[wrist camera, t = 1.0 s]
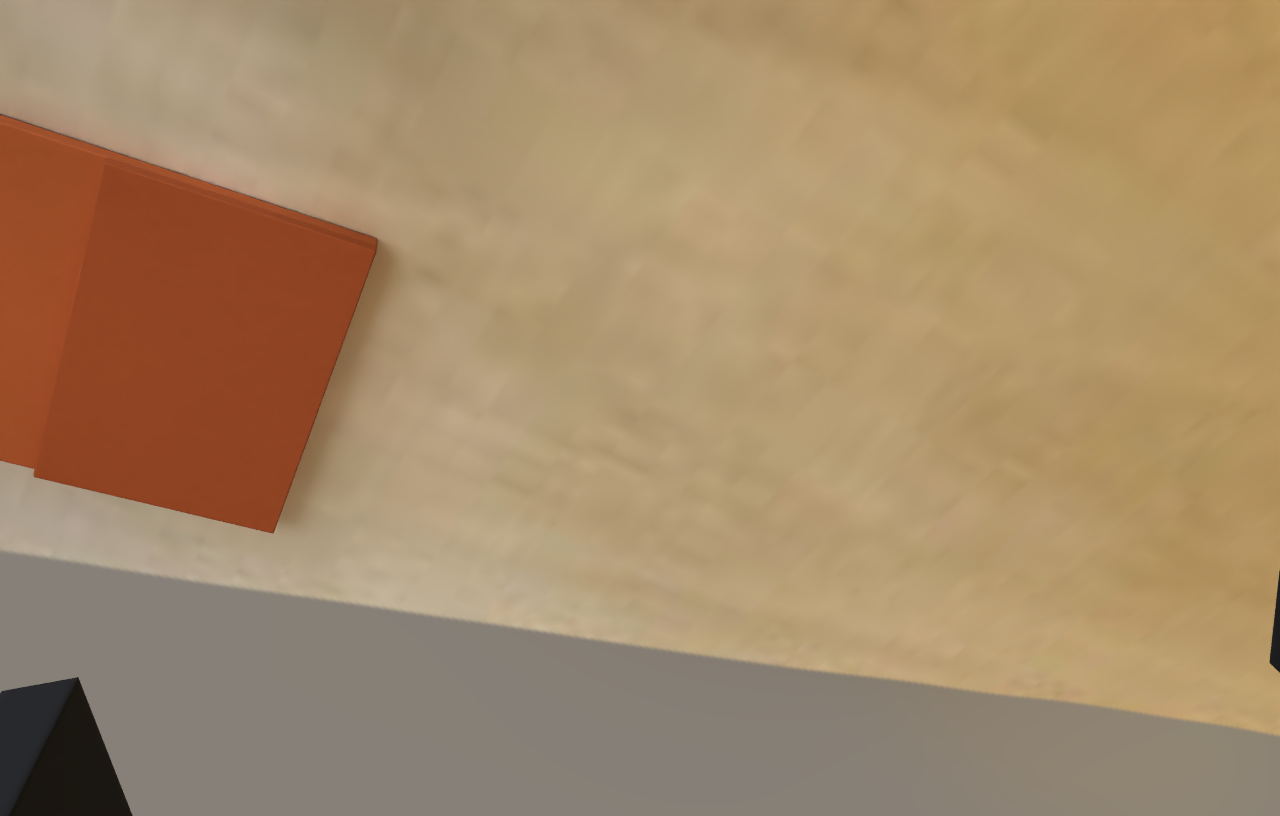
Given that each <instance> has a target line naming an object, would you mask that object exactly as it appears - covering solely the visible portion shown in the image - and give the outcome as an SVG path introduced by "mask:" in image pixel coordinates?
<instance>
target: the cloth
mask: <svg viewBox="0 0 1280 816" xmlns="http://www.w3.org/2000/svg"><path fill="white" fill-rule="evenodd" d="M376 249H377V239H376V238H373V237H370V236H367V235H364V234H361V233H358V232H355V231H352V230H349V229H346V228H343V227H340V226H337V225H334V224H331V223H328V222H324V221H321V220H318V219H315V218H312V217H309V216H306V215H303V214H300V213H297V212H294V211H291V210H288V209H285V208H282V207H279V206H276V205H273V204H270V203H267V202H264V201H261V200H258V199H255V198H252V197H249V196H246V195H242V194H239V193H236V192H233V191H230V190H227V189H224V188H221V187H218V186H215V185H212V184H209V183H206V182H203V181H200V180H197V179H194V178H191V177H188V176H185V175H182V174H179V173H176V172H173V171H170V170H167V169H164V168H160V167H157V166H154V165H151V164H148V163H145V162H142V161H139V160H136V159H133V158H130V157H127V156H124V155H121V154H118V153H115V152H112V151H109V150H106V149H103V148H100V147H97V146H94V145H91V144H88V143H85V142H82V141H78V140H75V139H72V138H69V137H66V136H63V135H60V134H57V133H54V132H51V131H48V130H45V129H42V128H39V127H36V126H33V125H30V124H27V123H24V122H21V121H18V120H15V119H12V118H9V117H6V116H3V115H0V461H4V462H9V463H13V464H17V465H21V466H25V467H29V468H34V469H35V471H34V477H37V478H41V479H45V480H50V481H54V482H58V483H62V484H66V485H71V486H75V487H79V488H83V489H88V490H92V491H96V492H100V493H104V494H109V495H113V496H117V497H121V498H126V499H130V500H134V501H138V502H142V503H147V504H151V505H155V506H159V507H163V508H168V509H172V510H176V511H180V512H185V513H189V514H193V515H197V516H201V517H206V518H210V519H214V520H218V521H223V522H227V523H231V524H235V525H239V526H244V527H248V528H252V529H256V530H261V531H265V532H269V533H274V530H275V528H276V525H277V522H278V519H279V517H280V514H281V511H282V509H283V506H284V503H285V500H286V498H287V495H288V492H289V489H290V487H291V484H292V481H293V478H294V476H295V473H296V470H297V467H298V465H299V462H300V459H301V456H302V454H303V451H304V448H305V446H306V443H307V440H308V437H309V435H310V432H311V429H312V426H313V424H314V421H315V418H316V415H317V413H318V410H319V407H320V404H321V402H322V399H323V396H324V393H325V391H326V388H327V385H328V382H329V380H330V377H331V374H332V372H333V369H334V366H335V363H336V361H337V358H338V355H339V352H340V350H341V347H342V344H343V341H344V339H345V336H346V333H347V330H348V328H349V325H350V322H351V319H352V317H353V314H354V311H355V308H356V306H357V303H358V300H359V298H360V295H361V292H362V289H363V287H364V284H365V281H366V278H367V276H368V273H369V270H370V267H371V265H372V262H373V259H374V256H375V254H376Z"/></svg>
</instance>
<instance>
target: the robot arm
mask: <svg viewBox="0 0 1280 816" xmlns="http://www.w3.org/2000/svg"><path fill="white" fill-rule="evenodd" d="M1270 664H1271V665H1272V666H1273V667H1274V668H1275V669H1277V670H1278V671H1279V672H1280V572H1279V581H1278V590H1277V599H1276V608H1275V617H1274V627H1273V636H1272V645H1271V654H1270ZM0 816H132V813H131V811H130V808H129V806H128V803H127V801H126V798H125V796H124V793H123V790H122V788H121V785H120V783H119V780H118V778H117V775H116V772H115V770H114V767H113V765H112V762H111V760H110V757H109V755H108V752H107V750H106V747H105V744H104V742H103V740H102V737H101V734H100V732H99V729H98V727H97V724H96V722H95V719H94V717H93V714H92V711H91V709H90V706H89V704H88V701H87V699H86V696H85V694H84V691H83V688H82V686H81V683H80V681H79V678H78V677H77V678H72V679H67V680H61V681H56V682H50V683H44V684H40V685H33V686H28V687H22V688H17V689H11V690H6V691H2V692H1V693H0Z"/></svg>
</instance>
